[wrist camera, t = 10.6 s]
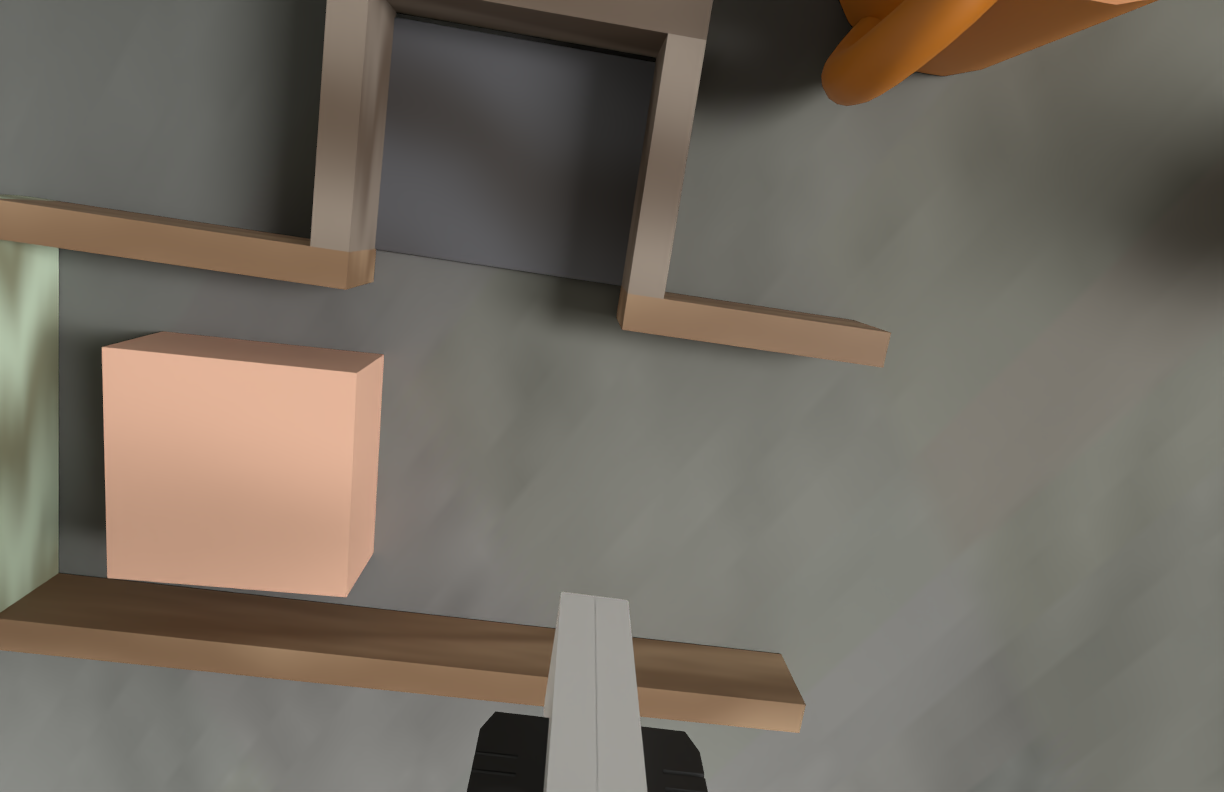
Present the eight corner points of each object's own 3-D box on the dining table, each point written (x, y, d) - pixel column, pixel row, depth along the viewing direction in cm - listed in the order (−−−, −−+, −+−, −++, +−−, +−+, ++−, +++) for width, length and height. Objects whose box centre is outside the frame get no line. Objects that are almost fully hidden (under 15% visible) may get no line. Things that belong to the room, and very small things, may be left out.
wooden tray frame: (20, -94, 25) (-68, -145, 21) (909, 65, 27) (957, 42, 24) (26, 597, 30) (-44, 645, 27) (775, 679, 32) (799, 732, 29)
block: (166, 330, 28) (102, 347, 24) (385, 353, 29) (356, 373, 25) (167, 532, 30) (107, 578, 26) (375, 549, 31) (346, 597, 27)
